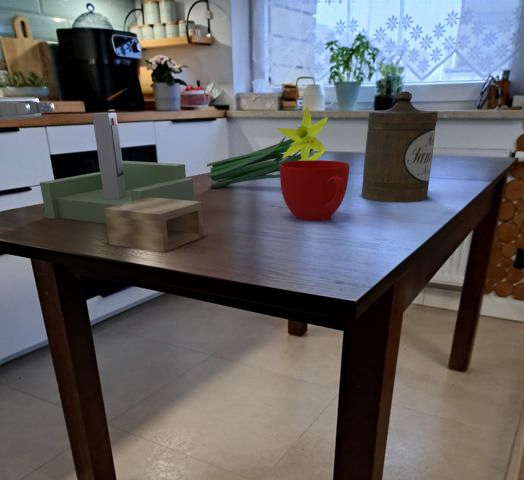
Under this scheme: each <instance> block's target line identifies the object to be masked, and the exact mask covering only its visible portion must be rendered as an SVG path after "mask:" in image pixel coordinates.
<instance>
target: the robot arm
mask: <svg viewBox="0 0 524 480" xmlns="http://www.w3.org/2000/svg"><path fill="white" fill-rule="evenodd" d="M54 112H55V104H54V103H53V102H51V101H40V100H39V98H38V97H35V96H4V97H3V96H0V121H9V120H10V121H11V120H23V119H35V118H41V116H42V114H47V113H48V114H49V113H51V114H52V113H54Z"/></svg>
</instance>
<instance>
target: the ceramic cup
mask: <svg viewBox="0 0 524 480" xmlns="http://www.w3.org/2000/svg"><path fill="white" fill-rule="evenodd" d="M279 174H280V178H279V180H280V188H281V189H280V190H281V193H282V198H283V201H284V203H285V205H286V207H287V208H288V210H289V211H290V213H291V214H292V215H293V216H294V218H295V219H296V220H300V221H306V222H321V221H327V220H330V219H331V217H332V216H333V215H334V214H335V213H336V212H337V211H338V210H339V208H340V206H341V205H342V203H343V201H344V199H345V195H346V193H347V189H348V182H349V176H350V164H349V162H345V161H337V160H320V159H318V160H305V161H300V160H298V161H291V162H285V163H282V164H280V171H279Z"/></svg>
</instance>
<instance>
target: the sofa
mask: <svg viewBox="0 0 524 480" xmlns="http://www.w3.org/2000/svg"><path fill="white" fill-rule="evenodd" d="M122 163H123V171H124V179H125V187H126V195H125V196H124V197H122V198H120V199H104V194H103V187H102V180H101V173H100V171H98V172H92V173H86V174H80V175H75V176H70V177H69V176H68V177H63V178H57V179H52V180H46V181H41V182H40V181H39V185H40V186H39V187H40V192H41V197H42V202H43V207H44V212H45V217H46V219H52V220H53V219H54V220H56V219H64V220H73V221H81V222H89V223H98V224H106V218H105V211H104V208H108V207H111V206H115V205H119V204H123V203H127V202H131V201H135V200H139V199H143V198H147V197H154V198H165V199H176V200H187V201H196V200H195V188H194V187H195V186H194V185H195V184H194V178H188V177H187V171H186V164H185V163H170V162H169V163H168V162H155V161H154V162H152V161H151V162H150V161H133V160H132V161H131V160H122ZM98 167H99V169H100V166H99V165H98Z"/></svg>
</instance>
